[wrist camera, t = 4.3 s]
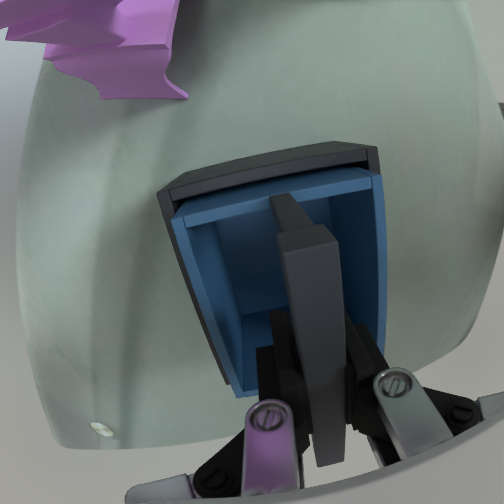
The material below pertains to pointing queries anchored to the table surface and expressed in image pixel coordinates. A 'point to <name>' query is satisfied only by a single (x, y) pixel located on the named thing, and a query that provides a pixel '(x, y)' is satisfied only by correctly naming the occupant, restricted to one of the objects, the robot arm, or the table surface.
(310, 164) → the charcoal bin
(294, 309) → the blue bin
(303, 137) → the table surface
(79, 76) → the toy chair
